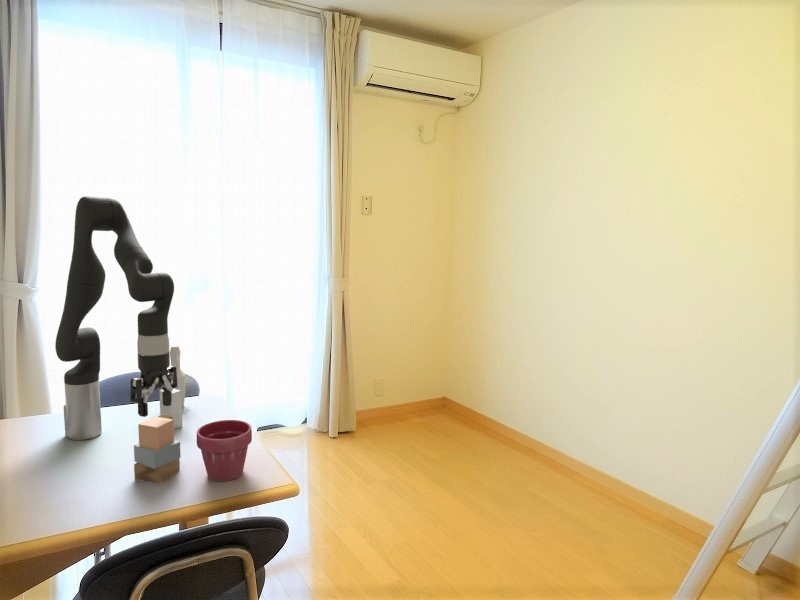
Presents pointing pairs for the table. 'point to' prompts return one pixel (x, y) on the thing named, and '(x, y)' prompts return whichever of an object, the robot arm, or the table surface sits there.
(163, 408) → the skincare box
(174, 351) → the low poly bottle
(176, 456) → the top block
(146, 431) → the cube
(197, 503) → the table surface
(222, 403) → the table surface
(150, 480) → the bottom block
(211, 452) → the plant pot
